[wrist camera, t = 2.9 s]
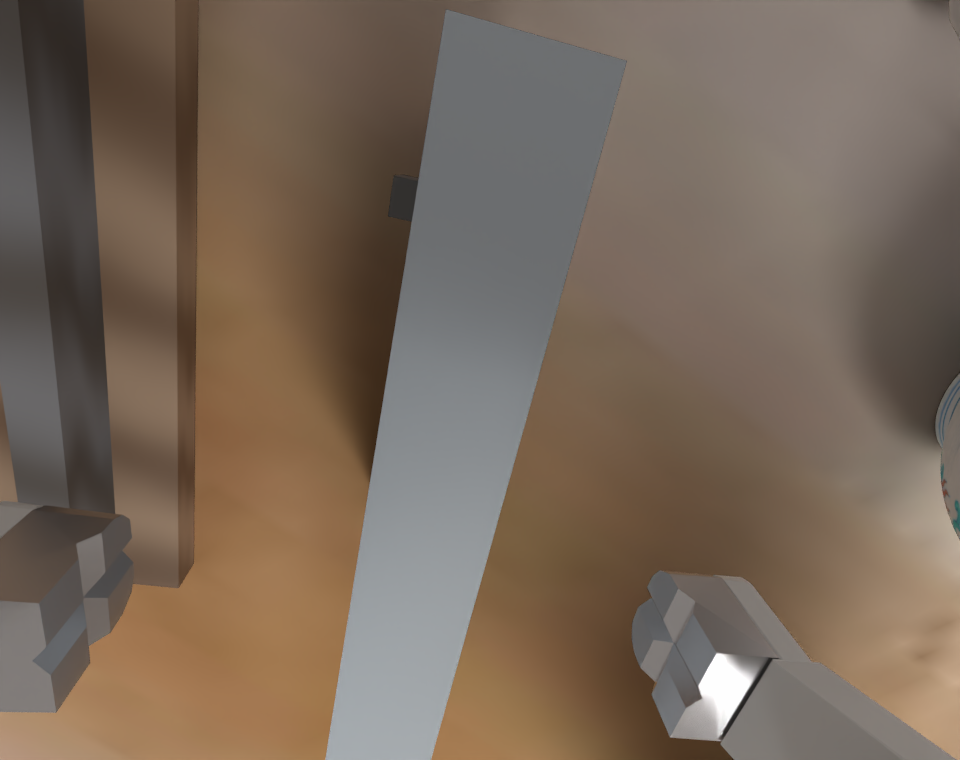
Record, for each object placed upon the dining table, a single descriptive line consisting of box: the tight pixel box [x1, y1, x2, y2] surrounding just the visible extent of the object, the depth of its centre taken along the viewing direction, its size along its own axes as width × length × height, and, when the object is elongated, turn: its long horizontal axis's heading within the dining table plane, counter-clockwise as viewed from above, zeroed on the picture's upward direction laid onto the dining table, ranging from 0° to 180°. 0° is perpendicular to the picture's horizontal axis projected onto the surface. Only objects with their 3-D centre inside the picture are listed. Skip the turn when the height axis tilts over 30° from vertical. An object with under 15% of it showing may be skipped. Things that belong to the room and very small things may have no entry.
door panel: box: [326, 9, 627, 760], centre depth 15 cm, size 16×3×12 cm, turn 168°
